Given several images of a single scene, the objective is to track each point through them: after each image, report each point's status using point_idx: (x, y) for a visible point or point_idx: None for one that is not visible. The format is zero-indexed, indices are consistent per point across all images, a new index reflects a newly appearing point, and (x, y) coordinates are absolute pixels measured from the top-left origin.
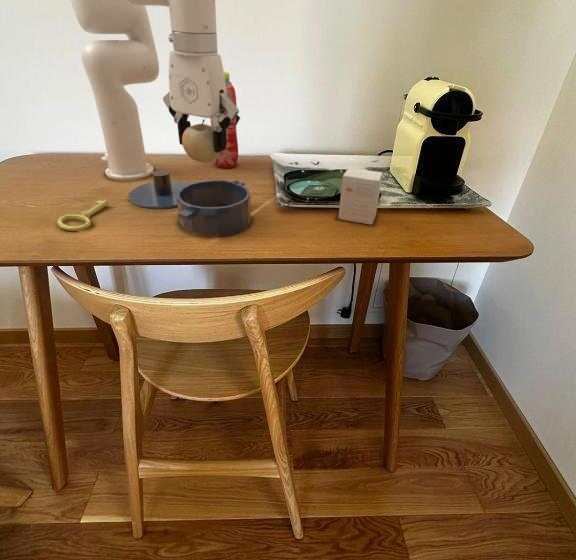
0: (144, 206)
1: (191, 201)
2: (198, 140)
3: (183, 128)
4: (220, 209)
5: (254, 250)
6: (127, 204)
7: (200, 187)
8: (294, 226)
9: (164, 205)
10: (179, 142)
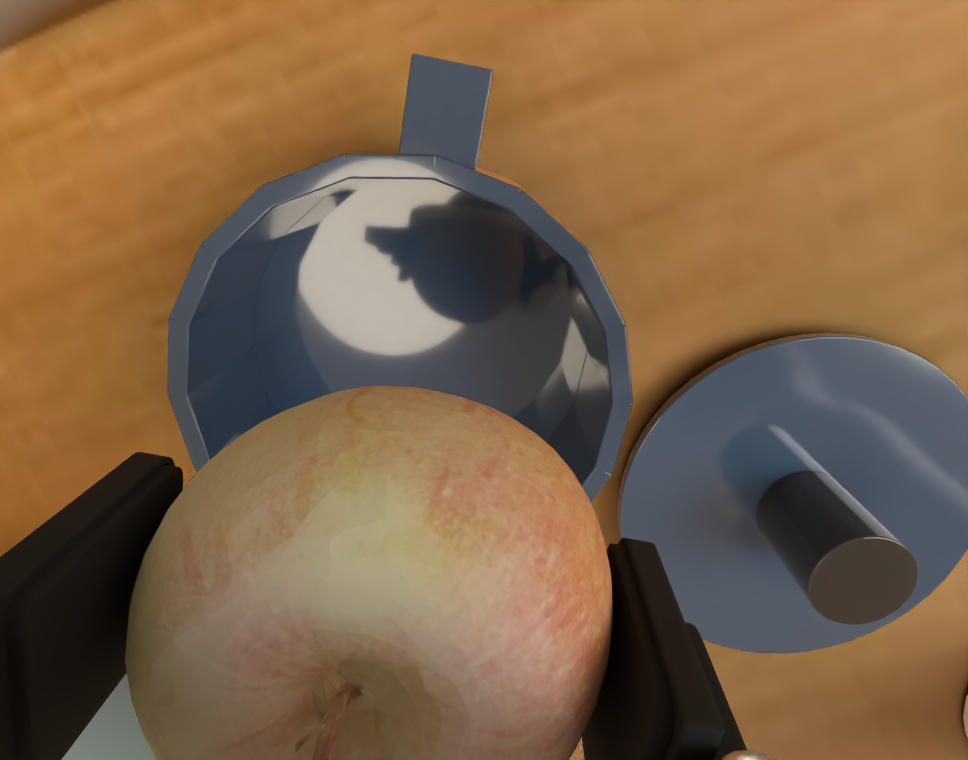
0: (839, 334)
1: (582, 416)
2: (280, 457)
3: (634, 709)
4: (247, 199)
5: (87, 108)
6: (953, 362)
7: None
8: (44, 412)
9: (731, 373)
10: (657, 551)
